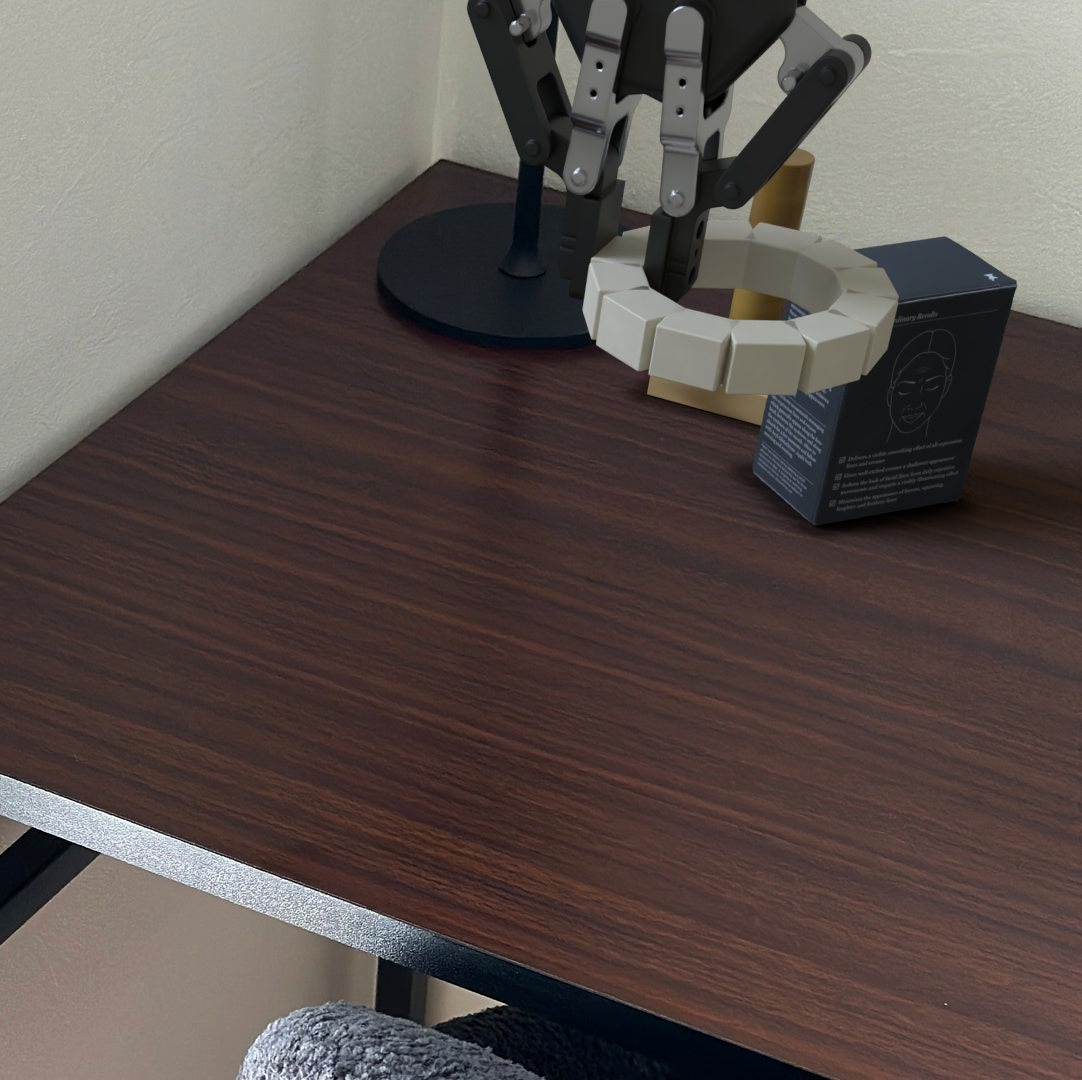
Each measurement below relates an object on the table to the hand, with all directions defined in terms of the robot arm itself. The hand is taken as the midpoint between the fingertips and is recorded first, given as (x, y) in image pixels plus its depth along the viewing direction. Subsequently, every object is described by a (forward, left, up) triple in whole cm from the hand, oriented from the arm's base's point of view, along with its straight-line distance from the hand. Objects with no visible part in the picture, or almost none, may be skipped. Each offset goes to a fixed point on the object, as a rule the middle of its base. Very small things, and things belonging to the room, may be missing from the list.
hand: (621, 298), depth 82 cm
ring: (-4, 0, 0) cm, 4 cm away
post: (+4, -32, -18) cm, 37 cm away
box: (-4, -25, -18) cm, 31 cm away
